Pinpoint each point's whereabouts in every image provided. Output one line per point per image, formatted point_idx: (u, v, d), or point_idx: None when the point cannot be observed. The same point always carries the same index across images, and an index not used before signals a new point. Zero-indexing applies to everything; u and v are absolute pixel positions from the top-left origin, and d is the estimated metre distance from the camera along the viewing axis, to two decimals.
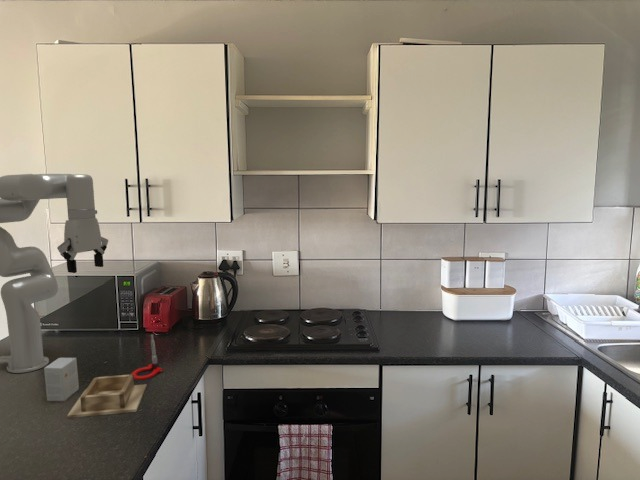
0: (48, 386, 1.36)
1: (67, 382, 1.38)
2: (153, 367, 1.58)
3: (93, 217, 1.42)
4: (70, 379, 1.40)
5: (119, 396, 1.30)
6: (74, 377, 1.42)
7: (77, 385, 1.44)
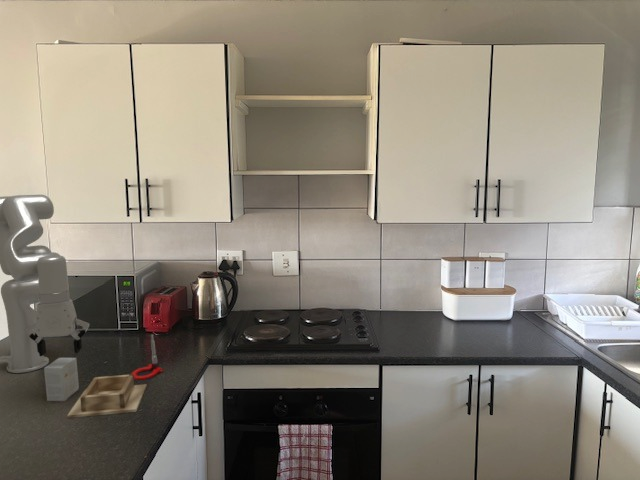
0: (48, 386, 1.36)
1: (67, 382, 1.38)
2: (153, 367, 1.58)
3: None
4: (70, 379, 1.40)
5: (119, 396, 1.30)
6: (74, 377, 1.42)
7: (77, 385, 1.44)
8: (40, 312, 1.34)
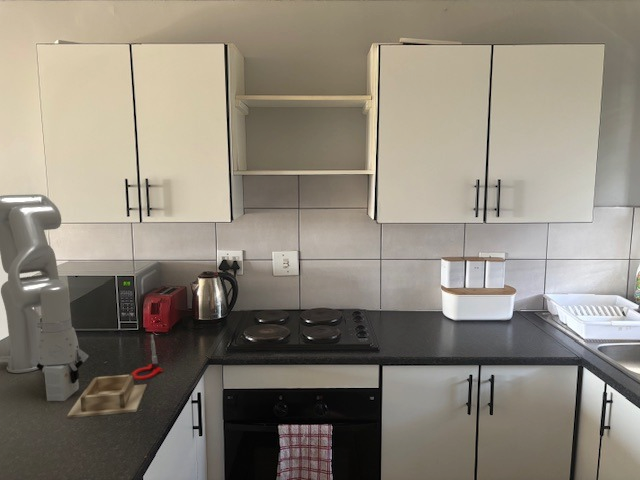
0: (48, 386, 1.36)
1: (67, 382, 1.38)
2: (153, 367, 1.58)
3: None
4: (70, 379, 1.40)
5: (119, 396, 1.30)
6: None
7: (77, 385, 1.44)
8: (42, 341, 1.35)
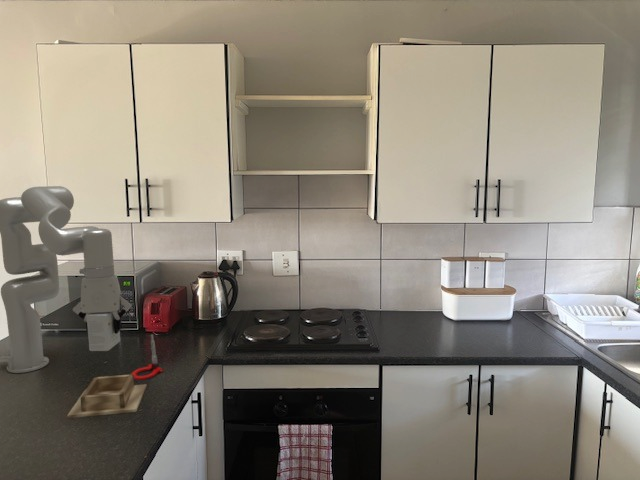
0: (91, 335, 1.30)
1: (110, 331, 1.32)
2: (153, 367, 1.58)
3: None
4: (113, 329, 1.33)
5: (119, 396, 1.30)
6: None
7: (119, 336, 1.37)
8: (85, 287, 1.29)
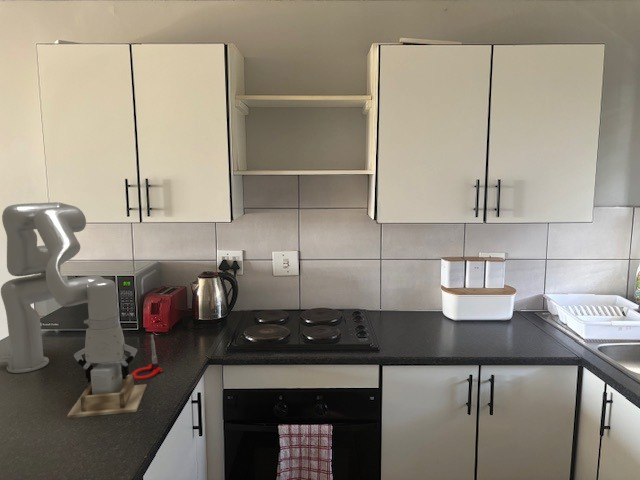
0: (94, 389, 1.32)
1: (113, 385, 1.34)
2: (153, 367, 1.58)
3: None
4: (116, 382, 1.36)
5: (119, 396, 1.30)
6: (119, 380, 1.38)
7: (121, 388, 1.40)
8: (89, 338, 1.31)
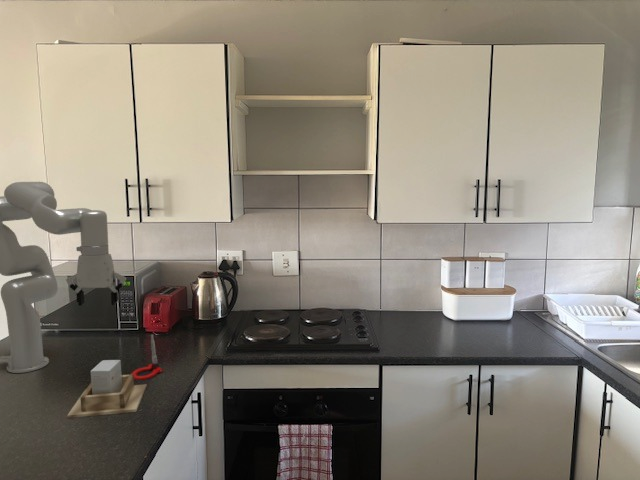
0: (94, 389, 1.32)
1: (113, 385, 1.34)
2: (153, 367, 1.58)
3: None
4: (116, 382, 1.36)
5: (119, 396, 1.30)
6: (119, 380, 1.38)
7: (121, 388, 1.40)
8: (81, 263, 1.40)
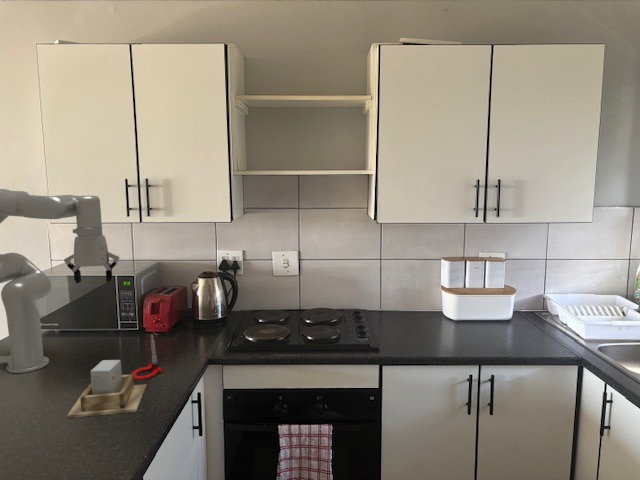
0: (94, 389, 1.32)
1: (113, 385, 1.34)
2: (153, 367, 1.58)
3: None
4: (116, 382, 1.36)
5: (119, 396, 1.30)
6: (119, 380, 1.38)
7: (121, 388, 1.40)
8: (77, 244, 1.53)
